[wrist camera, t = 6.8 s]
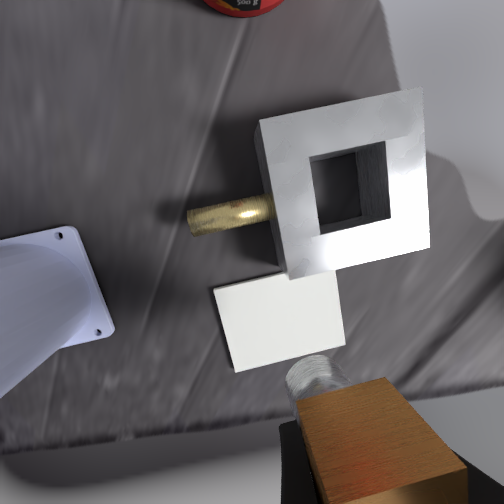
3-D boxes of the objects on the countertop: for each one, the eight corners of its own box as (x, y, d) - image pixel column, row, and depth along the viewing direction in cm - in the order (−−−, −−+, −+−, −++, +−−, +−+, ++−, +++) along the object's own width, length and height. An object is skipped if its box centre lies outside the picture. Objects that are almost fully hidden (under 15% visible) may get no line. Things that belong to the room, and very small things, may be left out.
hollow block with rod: (212, 282, 17) (208, 299, 14) (177, 152, 15) (163, 139, 12) (394, 239, 18) (429, 247, 14) (383, 109, 16) (422, 86, 12)
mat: (235, 369, 19) (235, 372, 18) (213, 288, 17) (213, 290, 17) (343, 341, 19) (345, 344, 19) (331, 260, 17) (333, 261, 17)
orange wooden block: (350, 422, 12) (473, 642, 6) (296, 437, 11) (364, 678, 6) (334, 321, 10) (467, 467, 5) (274, 336, 10) (330, 506, 4)
